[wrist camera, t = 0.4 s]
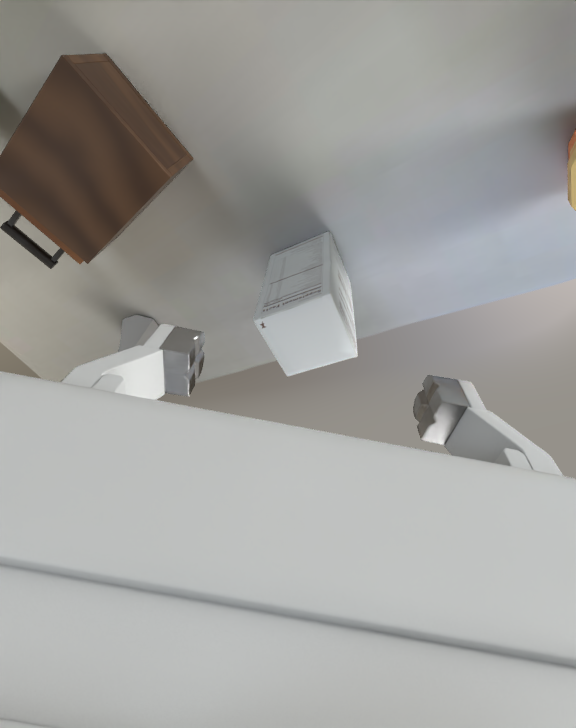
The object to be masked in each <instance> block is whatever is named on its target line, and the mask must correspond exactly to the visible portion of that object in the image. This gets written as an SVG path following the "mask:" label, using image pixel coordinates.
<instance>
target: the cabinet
mask: <svg viewBox="0 0 576 728" xmlns="http://www.w3.org/2000/svg"><path fill="white" fill-rule="evenodd" d="M192 160H193V158H192V156H191V155H190V154H189V153H188V152H187V150H186V149H185V148H184V147H183V146H182V144H181V143H180V142H179V141H178V140H177V138H176V137H175V136H174V135H173V133H172V132H171V131H170V130H169V129H168V127H167V126H166V125H165V124H164V123H163V121H162V120H161V119H160V118H159V117H158V115H157V114H156V113H155V112H154V111H153V109H152V108H151V107H150V106H149V105H148V103H147V102H146V101H145V100H144V99H143V97H142V96H141V95H140V94H139V93H138V91H137V90H136V89H135V88H134V87H133V85H132V84H131V83H130V82H129V80H128V79H127V78H126V77H125V76H124V74H123V73H122V72H121V71H120V70H119V68H118V67H117V66H116V65H115V64H114V62H113V61H112V60H111V59H110V58H109V56H108V55H107V54H83V55H61V57H60V59H59V60H58V62H57V64H56V65H55V67H54V68H53V70H52V72H51V73H50V75H49V77H48V78H47V80H46V82H45V83H44V85H43V87H42V88H41V90H40V91H39V93H38V95H37V96H36V98H35V100H34V101H33V103H32V105H31V106H30V108H29V109H28V111H27V113H26V114H25V116H24V118H23V119H22V121H21V123H20V124H19V126H18V127H17V129H16V131H15V132H14V134H13V136H12V137H11V139H10V141H9V142H8V144H7V145H6V147H5V149H4V150H3V152H2V154H1V155H0V189H1V190H2V191H3V192H5V193H6V194H7V195H8V196H9V197H10V198H12V199H13V200H14V201H15V202H16V203H17V204H19V205H20V206H21V207H22V208H23V209H24V210H26V211H27V212H28V213H29V214H30V215H31V216H33V217H34V218H35V219H36V220H37V221H38V222H39V223H41V224H42V225H43V226H44V227H45V228H46V229H48V230H49V231H50V232H51V233H52V234H53V235H55V236H56V237H57V238H58V239H59V240H60V241H62V242H63V243H64V244H65V245H66V246H67V247H69V248H70V249H71V250H72V251H73V252H74V253H75V254H77V255H78V256H79V257H80V258H81V259H82V260H84V261H85V262H86V263H87V264H88V263H89V262H90V261H91V260H92V259H94V258H95V257H96V256H97V255H98V254H99V253H100V252H101V251H102V250H104V249H105V248H106V247H107V246H108V245H109V244H110V243H111V242H112V241H114V240H115V239H116V238H117V237H118V236H119V235H120V234H121V233H122V232H123V231H124V230H125V229H126V228H127V227H128V226H129V225H130V224H131V223H132V222H133V220H134V219H135V218H136V217H137V216H138V215H139V214H140V213H141V212H142V211H143V210H144V209H145V208H146V207H147V206H148V205H149V204H150V203H151V202H152V201H153V200H154V199H155V198H156V197H157V196H158V195H159V194H160V193H161V192H162V191H163V190H164V189H165V188H166V187H167V185H168V184H169V183H170V182H171V181H172V180H173V179H174V178H175V177H176V176H177V175H178V174H179V173H180V172H181V171H182V170H183V169H184V168H185V167H186V166H187V165H188V164H189V163H190V162H191V161H192Z"/></svg>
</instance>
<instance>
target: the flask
mask: <svg viewBox="0 0 576 728" xmlns="http://www.w3.org/2000/svg"><path fill="white" fill-rule="evenodd" d="M158 327H159V326H158V325H157V323H156V322H155V321H154V319H151V318H147V317H143V316H139V315H134V316H131V317H128V318H125V319H123V322H122V332H121V340H120V347H119V350H118V352H120V351H123V350H126V349H129V348H132V347H135V346H138V345H141V346H143V345H144V344H145V343H146V341H147V340H148V339H149V338H150V337H151V335H152V334H153V333H154V332H155V330H156V329H157V328H158Z"/></svg>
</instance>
